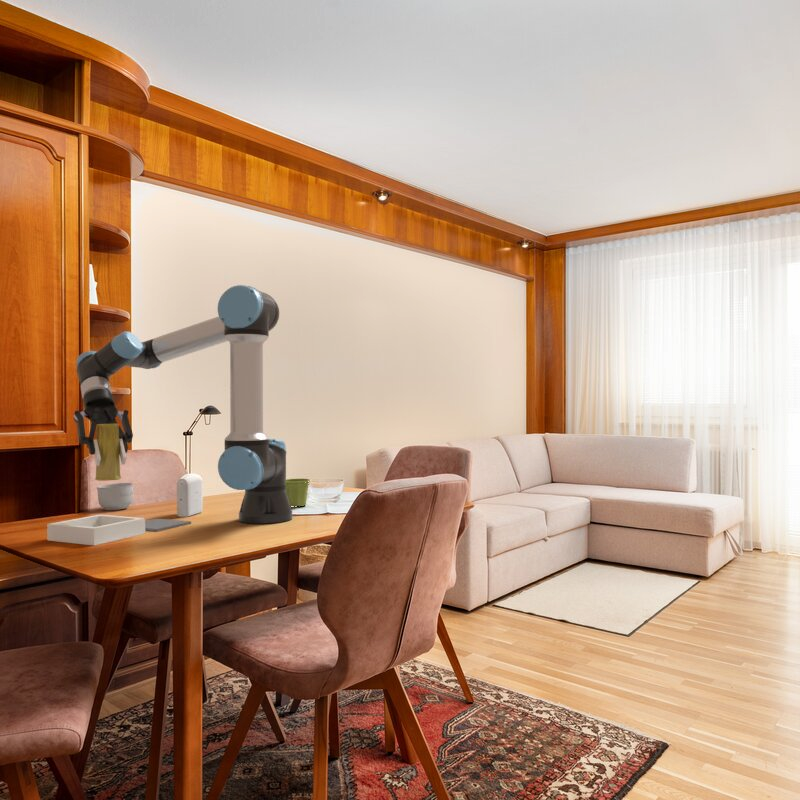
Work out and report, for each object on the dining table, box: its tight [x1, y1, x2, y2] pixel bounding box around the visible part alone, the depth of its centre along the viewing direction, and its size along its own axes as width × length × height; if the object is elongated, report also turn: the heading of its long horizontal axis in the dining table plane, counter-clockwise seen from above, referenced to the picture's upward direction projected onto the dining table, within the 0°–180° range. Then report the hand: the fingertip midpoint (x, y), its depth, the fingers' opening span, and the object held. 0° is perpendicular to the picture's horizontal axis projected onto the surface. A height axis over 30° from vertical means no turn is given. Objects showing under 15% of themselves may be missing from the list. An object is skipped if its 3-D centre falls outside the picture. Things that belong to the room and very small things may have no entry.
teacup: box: [96, 482, 134, 511], centre depth 221 cm, size 14×11×8 cm
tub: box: [46, 514, 146, 546], centre depth 172 cm, size 16×16×4 cm
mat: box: [145, 518, 192, 532], centre depth 188 cm, size 13×13×1 cm
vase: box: [94, 423, 122, 482], centre depth 176 cm, size 6×6×14 cm
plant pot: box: [286, 478, 311, 507], centre depth 222 cm, size 9×9×9 cm
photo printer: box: [176, 473, 204, 518], centre depth 207 cm, size 10×4×12 cm, turn 168°
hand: (111, 461), depth 173 cm, fingers closed on vase, 5 cm apart
